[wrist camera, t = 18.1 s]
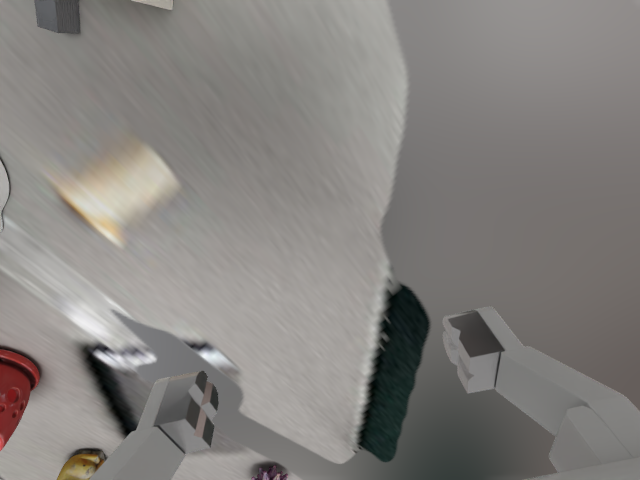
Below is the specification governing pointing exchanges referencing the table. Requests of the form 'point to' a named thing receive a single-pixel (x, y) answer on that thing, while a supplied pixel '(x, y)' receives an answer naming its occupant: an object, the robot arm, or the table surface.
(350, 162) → the table surface
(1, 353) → the plant pot
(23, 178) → the table surface
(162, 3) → the carton
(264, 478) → the purple spiky ball
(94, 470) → the decorative figurine
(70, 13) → the rail
